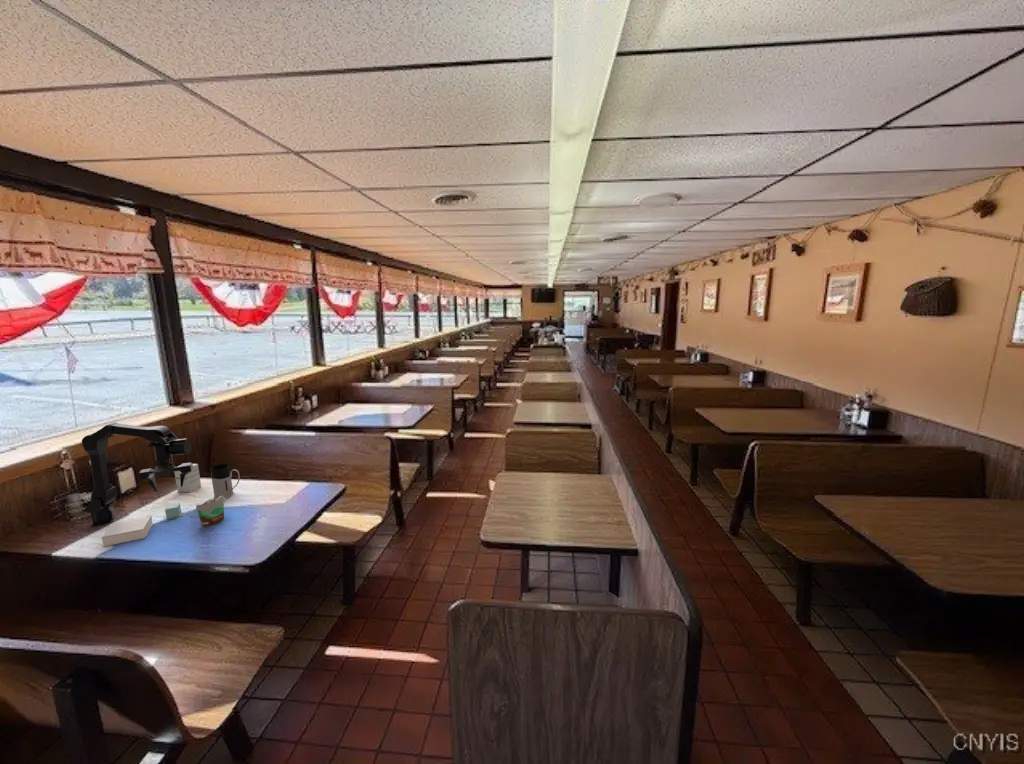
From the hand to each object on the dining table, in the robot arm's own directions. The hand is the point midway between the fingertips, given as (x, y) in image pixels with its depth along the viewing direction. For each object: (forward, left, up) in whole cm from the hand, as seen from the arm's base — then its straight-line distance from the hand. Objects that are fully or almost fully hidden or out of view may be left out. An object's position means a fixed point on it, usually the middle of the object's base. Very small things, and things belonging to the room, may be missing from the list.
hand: (169, 489), depth 201 cm
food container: (+18, -16, -13) cm, 27 cm away
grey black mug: (+20, +12, -13) cm, 27 cm away
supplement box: (+1, +32, -13) cm, 34 cm away
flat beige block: (-13, -12, -12) cm, 22 cm away
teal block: (0, 0, -13) cm, 13 cm away
